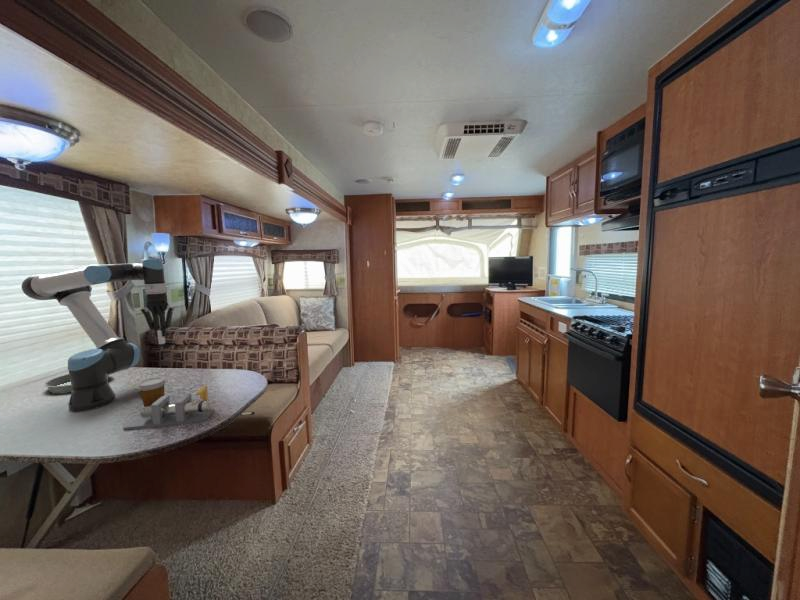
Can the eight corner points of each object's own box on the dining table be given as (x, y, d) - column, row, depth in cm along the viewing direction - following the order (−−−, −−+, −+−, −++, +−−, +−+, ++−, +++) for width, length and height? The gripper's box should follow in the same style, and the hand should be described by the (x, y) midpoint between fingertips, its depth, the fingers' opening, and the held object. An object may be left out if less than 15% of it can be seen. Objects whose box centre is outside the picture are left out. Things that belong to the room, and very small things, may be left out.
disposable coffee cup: (152, 403, 143) (149, 377, 141) (173, 403, 142) (170, 377, 141) (134, 414, 133) (130, 386, 132) (157, 413, 133) (153, 386, 131)
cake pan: (101, 389, 160) (100, 380, 160) (33, 399, 150) (31, 390, 150) (119, 373, 183) (118, 365, 182) (61, 381, 173) (60, 373, 172)
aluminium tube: (141, 420, 123) (140, 409, 123) (147, 414, 127) (146, 404, 127) (204, 413, 128) (203, 403, 127) (208, 408, 132) (207, 398, 131)
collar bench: (123, 430, 120) (119, 402, 119) (137, 418, 129) (134, 392, 128) (205, 421, 126) (203, 394, 124) (214, 410, 135) (211, 385, 133)
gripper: (134, 294, 142) (141, 346, 145) (167, 293, 144) (173, 344, 147) (144, 292, 149) (150, 342, 152) (175, 291, 152) (181, 340, 155)
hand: (162, 343), depth 150 cm, fingers closed
